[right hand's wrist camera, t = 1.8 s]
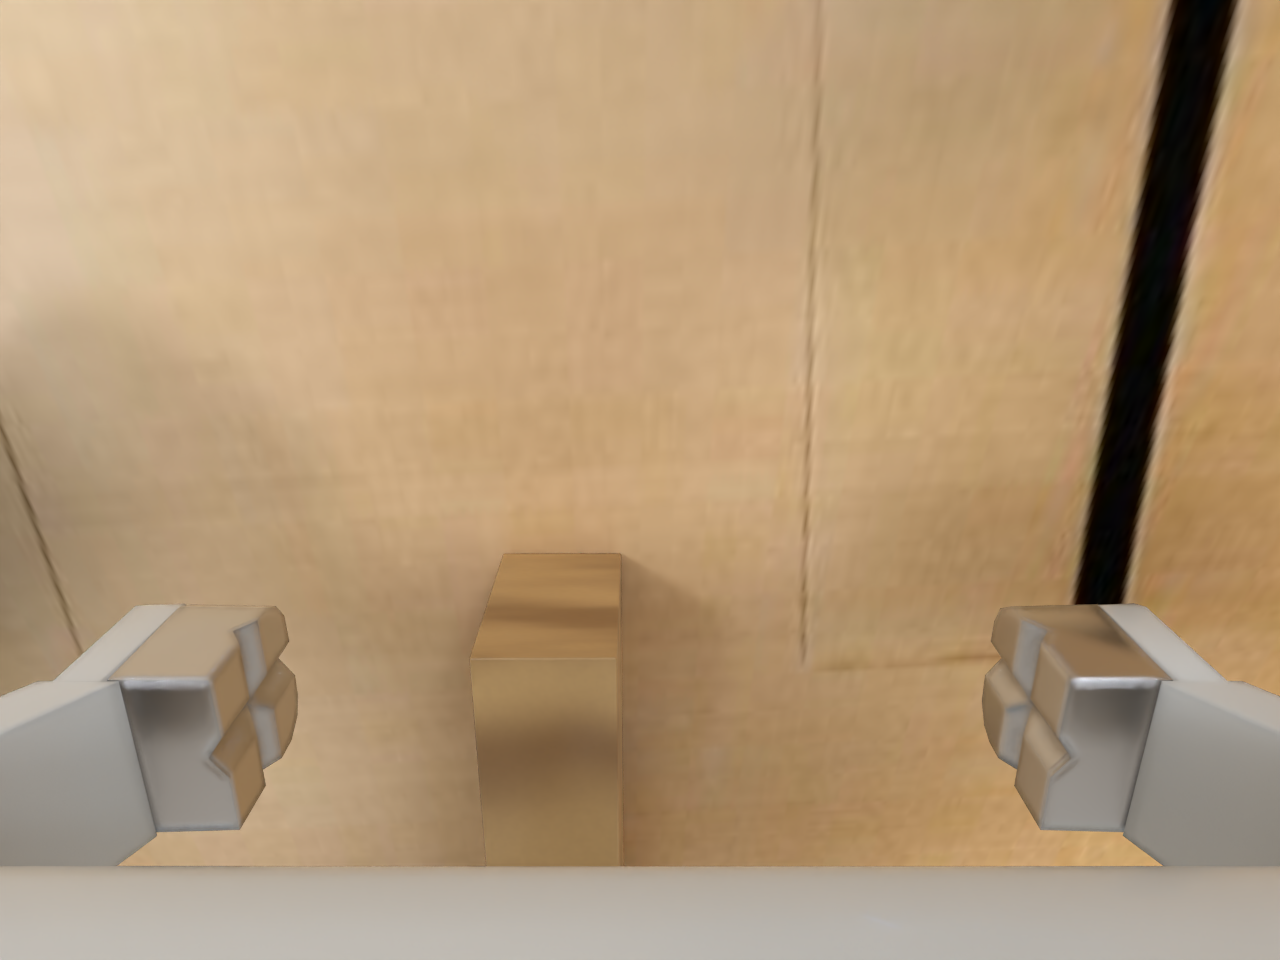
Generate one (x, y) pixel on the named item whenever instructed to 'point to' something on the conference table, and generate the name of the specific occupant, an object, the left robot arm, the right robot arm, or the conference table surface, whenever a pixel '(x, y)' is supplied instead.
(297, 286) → the conference table surface
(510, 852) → the bar
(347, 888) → the right robot arm
